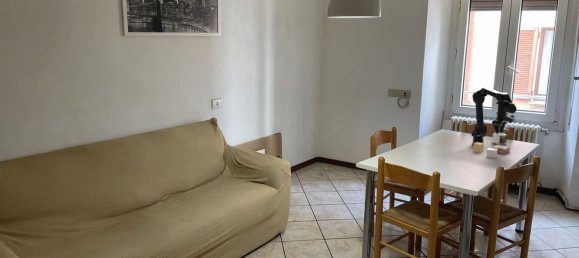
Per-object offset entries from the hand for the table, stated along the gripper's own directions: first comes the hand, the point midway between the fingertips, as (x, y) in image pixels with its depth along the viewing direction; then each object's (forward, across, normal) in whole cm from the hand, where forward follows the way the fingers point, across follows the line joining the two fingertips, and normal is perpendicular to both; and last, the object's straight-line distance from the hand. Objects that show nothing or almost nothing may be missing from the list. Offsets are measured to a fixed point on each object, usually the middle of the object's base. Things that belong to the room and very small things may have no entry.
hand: (499, 132), depth 324 cm
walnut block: (+14, -1, -2) cm, 14 cm away
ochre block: (+14, -10, +10) cm, 20 cm away
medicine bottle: (+14, +27, +8) cm, 31 cm away
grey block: (+14, -17, -2) cm, 22 cm away
